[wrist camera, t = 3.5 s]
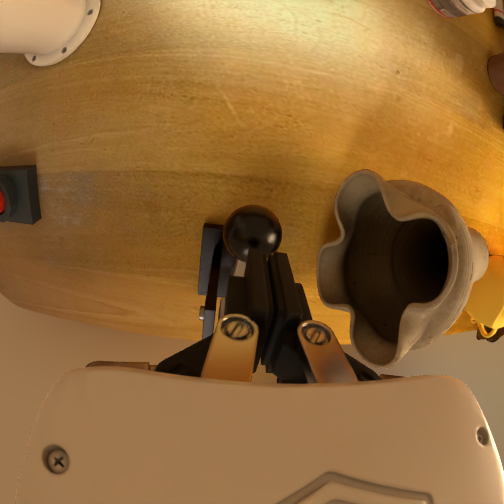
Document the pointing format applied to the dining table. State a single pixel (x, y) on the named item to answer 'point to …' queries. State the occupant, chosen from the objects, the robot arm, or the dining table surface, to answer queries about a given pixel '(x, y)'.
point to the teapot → (488, 298)
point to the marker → (499, 14)
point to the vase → (397, 265)
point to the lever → (250, 236)
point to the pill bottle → (460, 7)
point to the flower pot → (497, 72)
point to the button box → (19, 194)
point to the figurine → (495, 337)
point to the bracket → (213, 273)
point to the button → (2, 202)
